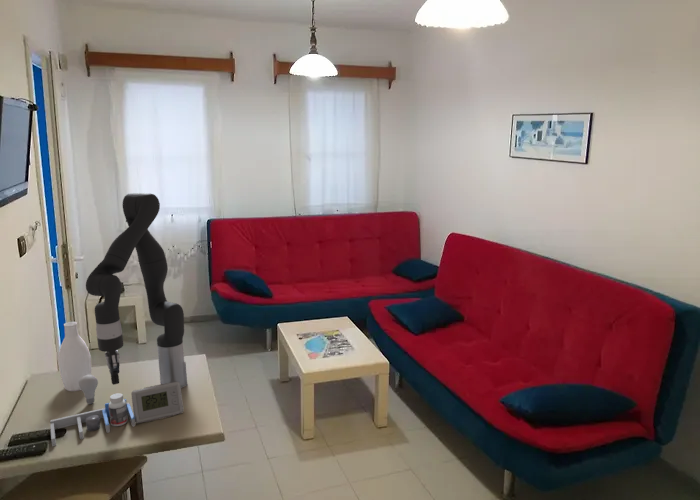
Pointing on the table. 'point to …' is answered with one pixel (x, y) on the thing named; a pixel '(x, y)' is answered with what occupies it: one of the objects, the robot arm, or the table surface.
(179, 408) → the digital clock
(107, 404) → the pronged rack
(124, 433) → the table surface
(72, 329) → the bottle
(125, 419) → the pill bottle
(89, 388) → the lightbulb
